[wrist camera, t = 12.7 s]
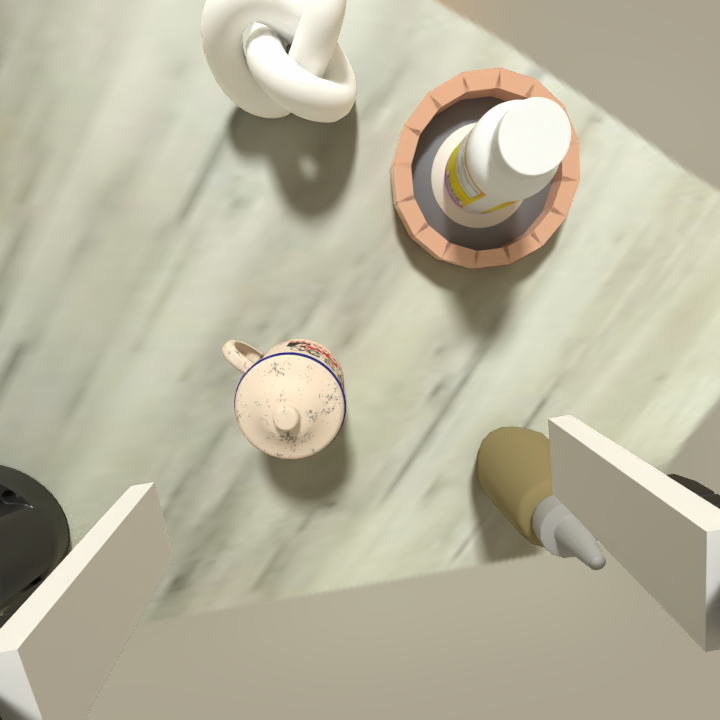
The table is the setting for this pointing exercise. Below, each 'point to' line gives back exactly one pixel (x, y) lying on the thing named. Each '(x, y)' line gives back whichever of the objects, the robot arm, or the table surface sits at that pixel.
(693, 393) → the table surface
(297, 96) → the white decorative knot
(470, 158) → the supplement bottle
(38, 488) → the robot arm
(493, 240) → the saucer tray
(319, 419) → the teacup with lid
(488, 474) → the squeeze bottle
